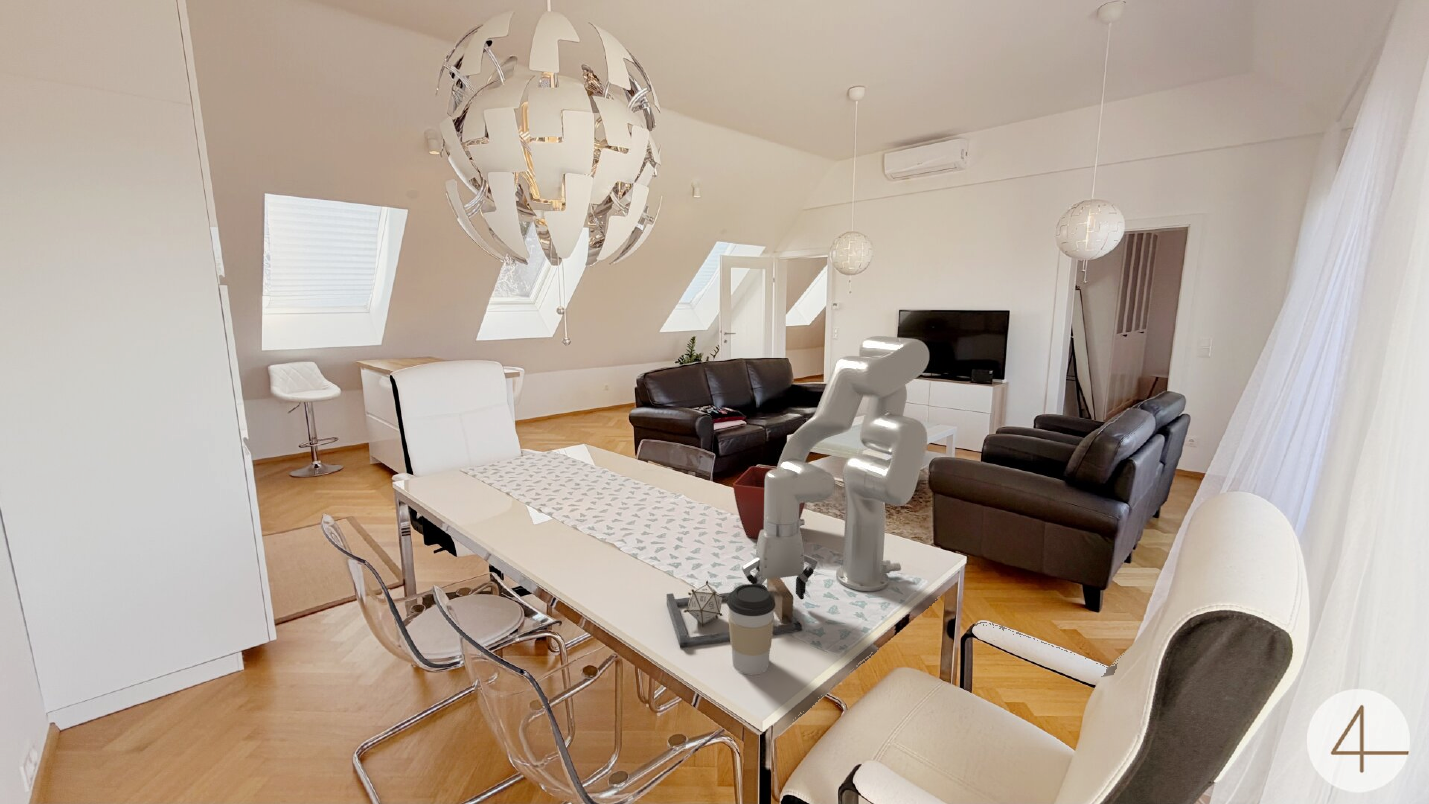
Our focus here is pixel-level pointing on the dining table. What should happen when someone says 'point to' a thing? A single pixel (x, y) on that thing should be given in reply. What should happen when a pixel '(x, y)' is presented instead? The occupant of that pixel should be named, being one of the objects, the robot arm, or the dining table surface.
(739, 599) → the coffee cup
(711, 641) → the frame
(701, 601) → the game die
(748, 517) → the plant pot
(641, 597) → the dining table surface
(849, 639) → the dining table surface
